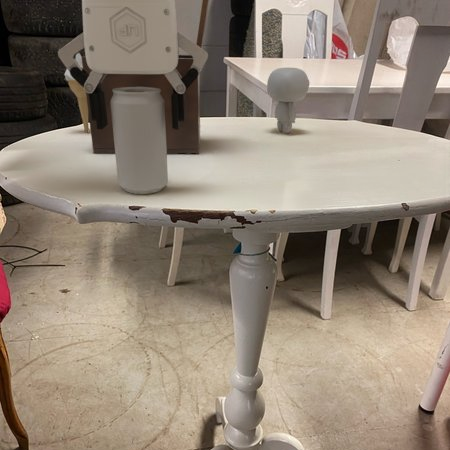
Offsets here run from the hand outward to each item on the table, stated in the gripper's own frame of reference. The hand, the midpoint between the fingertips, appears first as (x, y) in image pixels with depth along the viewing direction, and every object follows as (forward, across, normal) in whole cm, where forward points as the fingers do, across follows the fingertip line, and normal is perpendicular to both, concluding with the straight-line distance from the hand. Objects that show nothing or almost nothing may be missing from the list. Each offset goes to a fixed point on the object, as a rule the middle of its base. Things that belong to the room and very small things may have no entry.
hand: (139, 127), depth 57 cm
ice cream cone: (+8, -16, +38) cm, 42 cm away
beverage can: (+8, 0, 0) cm, 8 cm away
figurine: (+8, +24, +40) cm, 47 cm away
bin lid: (-16, +8, +26) cm, 32 cm away
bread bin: (+8, -2, +26) cm, 27 cm away
